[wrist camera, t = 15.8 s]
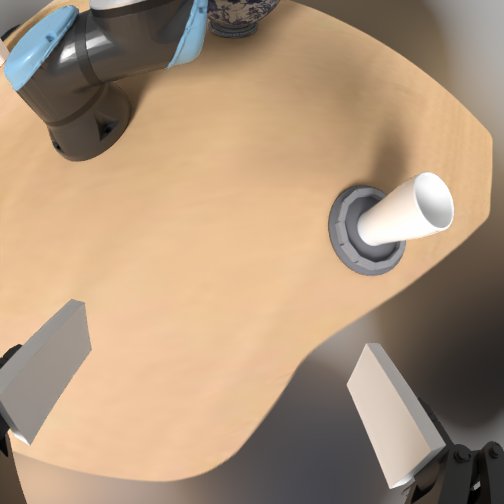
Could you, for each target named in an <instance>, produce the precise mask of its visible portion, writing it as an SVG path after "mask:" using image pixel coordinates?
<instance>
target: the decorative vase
mask: <svg viewBox="0 0 504 504" xmlns="http://www.w3.org/2000/svg"><path fill="white" fill-rule="evenodd" d="M279 1H280V0H208V6H207V11H206V12H207V18H208V19H210V20H211V21H210V22H209V26H208V27H209V30H210V31H211V32H212V33H214V34H215V35H218V36H221V37H227V38H241V37H246V36H249V35H251V34H253V33H255V32H256V30H257V21H259V20H260V19H262V18H264V17H265V16H266V15H268V14H269V13H270V12H271V11H272V10H273V9H274V8H275V7H276V5H277V4H278V3H279Z"/></svg>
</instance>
